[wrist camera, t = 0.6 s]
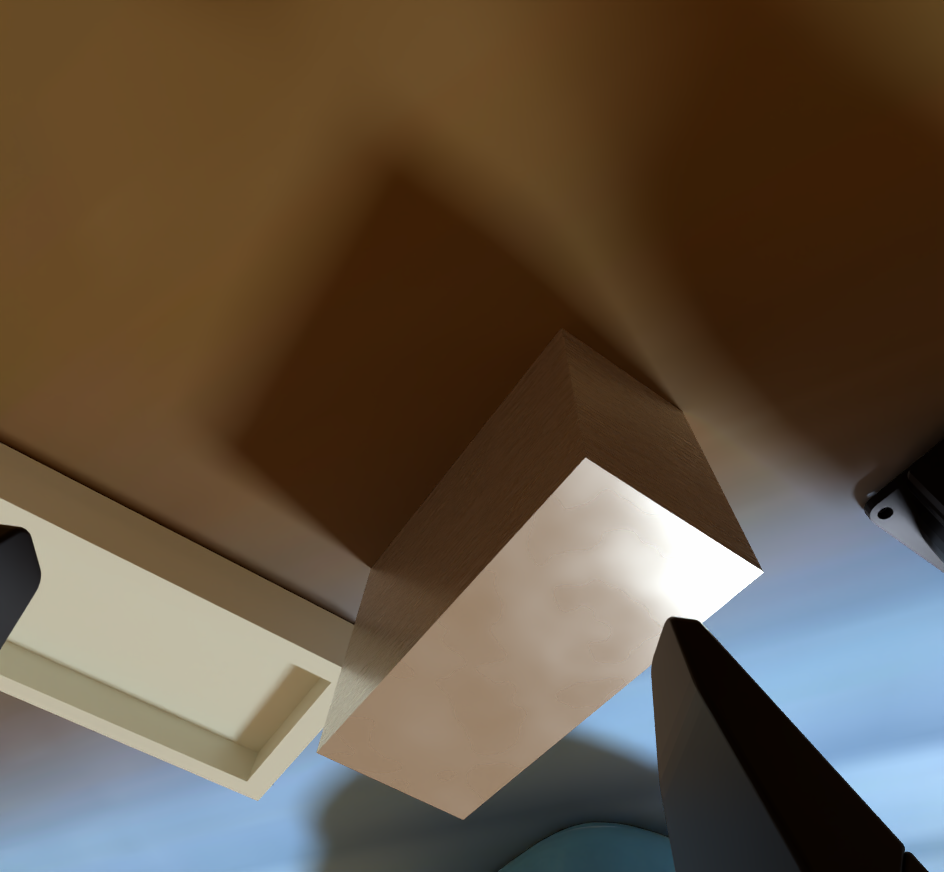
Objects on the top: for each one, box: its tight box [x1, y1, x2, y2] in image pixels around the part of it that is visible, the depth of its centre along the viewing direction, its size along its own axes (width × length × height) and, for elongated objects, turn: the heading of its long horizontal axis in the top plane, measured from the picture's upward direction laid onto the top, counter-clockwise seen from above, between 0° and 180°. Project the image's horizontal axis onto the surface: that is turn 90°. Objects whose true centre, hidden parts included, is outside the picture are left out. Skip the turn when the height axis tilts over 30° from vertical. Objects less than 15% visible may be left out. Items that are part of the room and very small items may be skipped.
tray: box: [0, 443, 354, 801], centre depth 26 cm, size 19×10×2 cm, turn 56°
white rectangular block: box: [317, 328, 763, 820], centre depth 20 cm, size 5×12×8 cm, turn 146°
